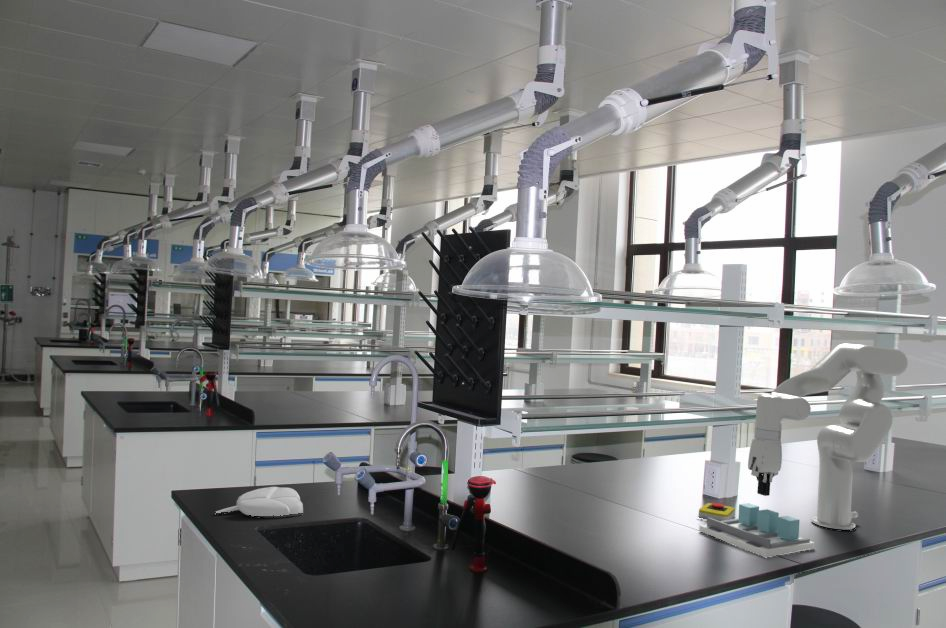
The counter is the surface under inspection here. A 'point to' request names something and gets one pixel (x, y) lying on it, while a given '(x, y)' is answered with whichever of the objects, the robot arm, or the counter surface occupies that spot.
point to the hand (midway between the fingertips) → (763, 494)
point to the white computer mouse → (268, 502)
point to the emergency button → (716, 512)
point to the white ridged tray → (753, 538)
